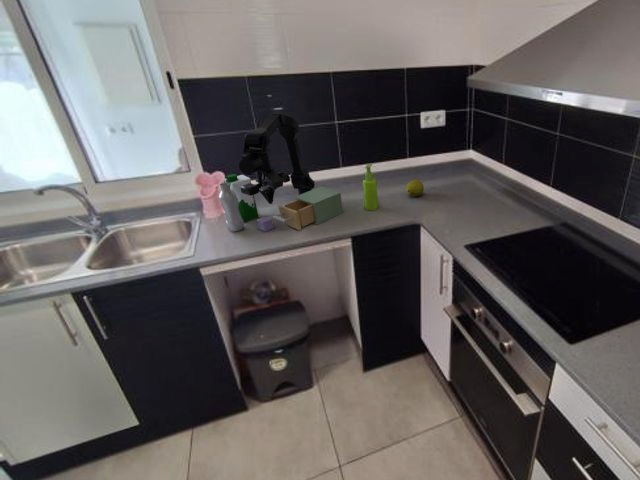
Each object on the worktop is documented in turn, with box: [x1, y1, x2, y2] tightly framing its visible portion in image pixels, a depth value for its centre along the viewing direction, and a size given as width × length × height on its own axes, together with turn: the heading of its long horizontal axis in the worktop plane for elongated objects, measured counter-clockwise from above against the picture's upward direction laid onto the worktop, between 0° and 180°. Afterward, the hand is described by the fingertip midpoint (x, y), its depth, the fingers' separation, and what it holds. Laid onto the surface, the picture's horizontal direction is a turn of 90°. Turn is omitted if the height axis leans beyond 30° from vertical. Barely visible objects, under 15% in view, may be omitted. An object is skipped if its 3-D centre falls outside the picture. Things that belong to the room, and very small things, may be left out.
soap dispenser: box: [362, 163, 379, 211], centre depth 170 cm, size 6×7×20 cm
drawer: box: [272, 199, 315, 231], centre depth 158 cm, size 18×11×8 cm, turn 143°
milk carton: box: [224, 173, 259, 223], centre depth 162 cm, size 9×9×20 cm
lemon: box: [405, 179, 425, 197], centre depth 184 cm, size 11×8×8 cm
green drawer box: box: [294, 186, 344, 225], centre depth 166 cm, size 15×13×10 cm
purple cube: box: [256, 215, 275, 232], centre depth 156 cm, size 4×4×4 cm
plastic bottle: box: [218, 181, 245, 232], centre depth 152 cm, size 6×7×20 cm
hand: (270, 203), depth 151 cm, fingers closed
